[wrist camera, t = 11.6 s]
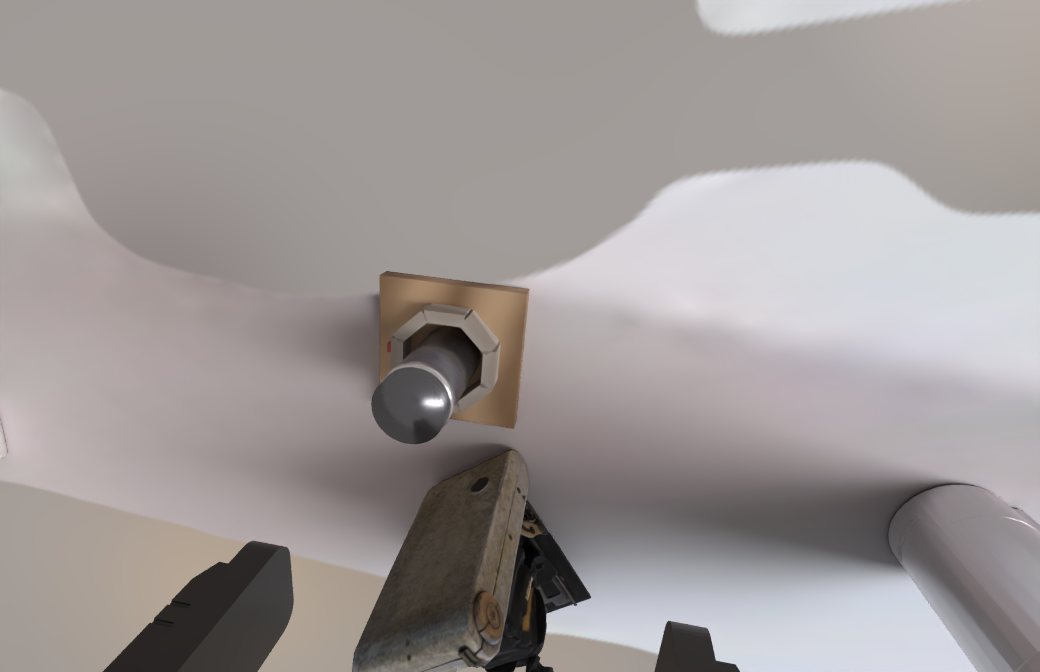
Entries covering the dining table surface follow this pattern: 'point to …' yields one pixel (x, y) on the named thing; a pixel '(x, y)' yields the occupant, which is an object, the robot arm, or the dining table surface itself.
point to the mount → (480, 314)
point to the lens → (426, 386)
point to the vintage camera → (471, 580)
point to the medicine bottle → (2, 443)
